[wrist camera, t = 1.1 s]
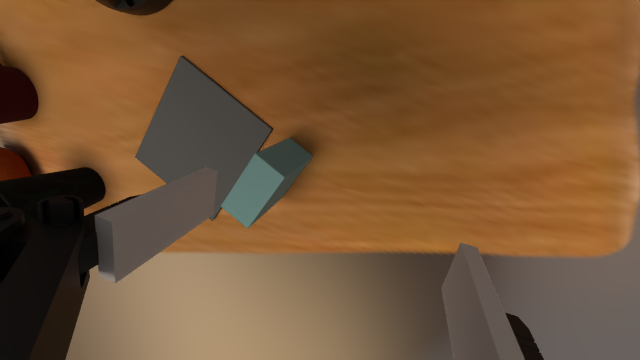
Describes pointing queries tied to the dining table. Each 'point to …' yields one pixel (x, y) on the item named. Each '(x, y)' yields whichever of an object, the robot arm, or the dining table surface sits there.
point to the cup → (51, 189)
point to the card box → (265, 181)
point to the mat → (201, 132)
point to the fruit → (12, 165)
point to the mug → (16, 96)
